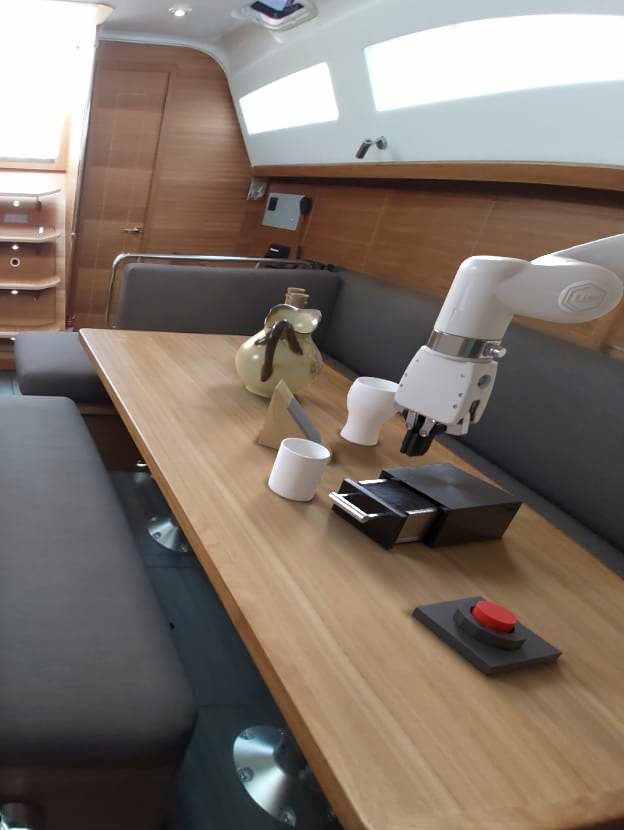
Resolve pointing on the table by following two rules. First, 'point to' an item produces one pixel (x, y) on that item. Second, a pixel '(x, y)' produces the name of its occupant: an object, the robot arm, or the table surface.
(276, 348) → the pitcher
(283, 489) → the mug
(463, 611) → the control block
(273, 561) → the table surface
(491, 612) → the button
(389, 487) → the black drawer
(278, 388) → the sandwich container
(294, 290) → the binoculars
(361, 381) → the cup
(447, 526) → the black drawer box
